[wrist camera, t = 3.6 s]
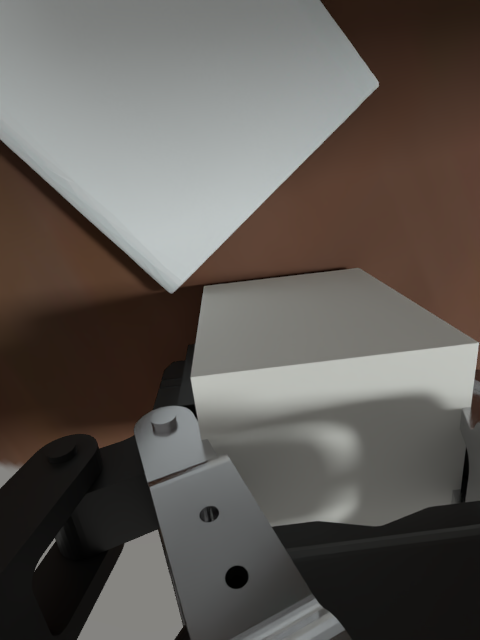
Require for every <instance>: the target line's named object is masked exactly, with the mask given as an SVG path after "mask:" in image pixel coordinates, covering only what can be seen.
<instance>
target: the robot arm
mask: <svg viewBox="0 0 480 640" xmlns="http://www.w3.org/2000/svg"><path fill="white" fill-rule="evenodd" d="M194 350H195V344H192V345H188V350H187V355H186V360H184V361H176V362H173V363H172V364H170V365H169V366H168V367H167V368H166V369H165V370H164V373H163V377H162V381H161V384H160V389H159V391H158V394H157V397H156V401H155V404H154V408H153V411H151V412H149V413H147V414H145V415H144V416H143V417H141V418H140V419H139V420H138V421H137V423H136V424H135V427H134V434H135V435H134V436H132V437H130V438H128V439H126V440H124V441H121V442H118V443H115V444H112V445H109V446H106V447H103V448H100V449H99V447H98V444H97V441H96V439H95V438H94V437H92V436H90V435H86V434H75V435H69V436H65V437H62V438H59V439H57V440H54V441H52V442H51V443H49V444H47V445H45V446H44V447H42V448H41V449H40V450H39V451H37V452H36V453H35V454H34V455H33V456H32V457H31V458H30V459H29V460H28V461H27V462H26V463H25V464H24V465H23V466H22V467H21V468H20V469H19V470H18V471H17V472H16V473H15V474H14V475H13V476H12V478H10V479H9V480H8V481H7V482H6V483H5V485H4V486H2V487H1V489H0V640H77V638H78V636H79V634H80V632H81V630H82V628H83V626H84V624H85V622H86V621H87V618H88V617H89V615H90V613H91V611H92V609H93V607H94V605H95V603H96V601H97V599H98V597H99V595H100V593H101V591H102V589H103V587H104V585H105V583H106V581H107V579H108V577H109V575H110V573H111V571H112V570H113V568H114V565H115V564H116V562H117V560H118V557H119V555H120V554H121V552H122V549H123V547H124V543H126V542H128V541H131V540H133V539H135V538H138V537H140V536H143V535H145V534H147V533H150V532H152V531H154V530H157V529H158V531H159V535H160V539H161V543H162V547H163V550H164V554H165V558H166V562H167V566H168V570H169V573H170V577H171V581H172V584H173V589H174V592H175V596H176V600H177V604H178V608H179V612H180V616H181V620H182V624H183V628H182V629H181V631H180V632H179V634H178V636H177V637H176V638H175V640H480V370H475V378H474V386H473V395H472V403H471V407H466V408H462V412H461V420H460V431H461V434H462V437H463V439H464V442H465V445H466V451H465V459H464V467H463V475H462V483H461V489H458V490H453V491H452V500H451V504H449V505H441V506H433V507H428V508H425V509H423V510H420V511H418V512H415V513H413V514H410V515H408V516H405V517H403V518H400V519H398V520H395V521H393V522H390V523H388V524H385V525H382V526H365V525H355V524H344V523H334V522H323V521H313V522H305V523H297V524H289V525H281V526H273V527H271V525H270V523H269V522H268V520H267V519H266V517H265V515H264V514H263V512H262V510H261V509H260V507H259V505H258V504H257V502H256V501H255V499H254V497H253V496H252V494H251V492H250V491H249V489H248V487H247V486H246V484H245V483H244V481H243V479H242V478H241V476H240V474H239V473H238V471H237V469H236V468H235V466H234V465H233V463H232V461H231V460H230V458H229V457H228V456H227V455H226V454H222V455H219V456H217V455H216V453H215V451H214V449H213V448H212V446H211V444H210V442H209V440H208V439H204V440H201V436H200V430H199V424H198V418H197V413H196V407H195V401H194V395H193V389H192V384H191V378H190V377H191V370H192V363H193V356H194ZM54 538H55V539H56V542H55V543H54V545H53V546H52V547H51V549H50V550H49V552H48V553H47V555H46V556H45V557H44V559H43V560H42V562H41V563H40V565H39V566H38V567H37V569H36V570H35V567H36V565H37V563H38V561H39V559H40V558H41V556H42V555H43V553H44V552H45V550H46V549H47V548H48V546H49V545H50V544H51V542H52V541H53V539H54ZM34 571H35V572H34Z"/></svg>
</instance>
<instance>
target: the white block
mask: <svg viewBox="0 0 480 640" xmlns="http://www.w3.org/2000/svg"><path fill="white" fill-rule="evenodd" d="M478 346H479V342H477V341H475V340H474V339H472V338H470V337H469V336H467V335H466V334H464V333H462V332H461V331H459V330H458V329H456V328H454V327H453V326H451V325H450V324H448V323H446V322H445V321H443V320H442V319H440V318H438V317H437V316H435V315H434V314H432V313H430V312H429V311H427V310H426V309H424V308H422V307H421V306H419V305H418V304H416V303H414V302H413V301H411V300H410V299H408V298H406V297H405V296H403V295H401V294H400V293H398V292H397V291H395V290H393V289H392V288H390V287H389V286H387V285H385V284H384V283H382V282H381V281H379V280H377V279H376V278H374V277H373V276H371V275H369V274H368V273H366V272H365V271H363V270H361V269H360V268H354V269H345V270H337V271H328V272H320V273H311V274H302V275H294V276H285V277H277V278H268V279H260V280H251V281H243V282H234V283H226V284H217V285H208V286H204V288H203V295H202V302H201V309H200V316H199V322H198V329H197V336H196V343H195V350H194V356H193V363H192V370H191V377H190V378H191V384H192V389H193V395H194V401H195V407H196V413H197V418H198V424H199V430H200V436H201V440H204V439H208V440H209V442H210V444H211V446H212V448H213V449H214V451H215V453H216V455H217V456H219V455H222V454H226V455H227V456H228V457H229V458H230V460H231V461H232V463H233V465H234V466H235V468H236V469H237V471H238V473H239V474H240V476H241V478H242V479H243V481H244V483H245V484H246V486H247V487H248V489H249V491H250V492H251V494H252V496H253V497H254V499H255V501H256V502H257V504H258V505H259V507H260V509H261V510H262V512H263V514H264V515H265V517H266V519H267V520H268V522H269V523H270V525H271V527H273V526H281V525H289V524H297V523H305V522H313V521H323V522H334V523H344V524H355V525H365V526H382V525H385V524H388V523H390V522H393V521H395V520H398V519H400V518H403V517H405V516H408V515H410V514H413V513H415V512H418V511H420V510H423V509H425V508H428V507H433V506H441V505H449V504H451V500H452V491H453V490H458V489H461V483H462V475H463V467H464V459H465V451H466V445H465V442H464V439H463V437H462V434H461V431H460V420H461V412H462V408H466V407H471V403H472V395H473V386H474V378H475V370H476V362H477V354H478Z"/></svg>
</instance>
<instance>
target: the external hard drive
mask: <svg viewBox="0 0 480 640" xmlns="http://www.w3.org/2000/svg"><path fill="white" fill-rule="evenodd" d="M378 86H379V82H378V80H377V79H376V77H375V76H374V75H373V73H372V72H371V71H370V69H369V68H368V66H367V65H366V63H365V62H364V61H363V59H362V58H361V57H360V55H359V54H358V52H357V51H356V50H355V48H354V47H353V45H352V44H351V42H350V41H349V40H348V38H347V37H346V36H345V34H344V33H343V31H342V30H341V29H340V27H339V26H338V25H337V23H336V22H335V21H334V19H333V18H332V17H331V15H330V14H329V12H328V11H327V10H326V8H325V7H324V5H323V4H322V3H321V1H320V0H0V140H1V141H2V142H3V143H5V144H6V145H7V146H8V147H9V148H10V149H11V150H12V151H13V152H14V153H16V154H17V155H18V156H19V157H20V158H21V159H22V160H23V161H24V162H26V163H27V164H28V165H29V166H30V167H31V168H32V169H33V170H34V171H35V172H37V173H38V174H39V175H40V176H41V177H42V178H43V179H44V180H45V181H46V182H47V183H49V184H50V185H51V186H52V187H53V188H54V189H55V190H56V191H57V192H58V193H59V194H61V195H62V196H63V197H64V198H65V199H66V200H67V201H68V202H69V203H70V204H71V205H73V206H74V207H75V208H76V209H77V210H78V211H79V212H80V213H81V214H82V215H84V216H85V217H86V218H87V219H88V220H89V221H90V222H91V223H92V224H94V225H95V226H96V227H97V228H98V229H99V230H100V231H101V232H102V233H104V234H105V235H106V236H107V237H108V238H109V239H110V240H111V241H113V242H114V243H115V244H116V245H117V246H118V247H119V248H121V249H122V250H123V251H124V252H125V253H126V254H127V255H128V256H129V257H130V258H131V259H132V260H134V261H135V262H136V263H137V264H138V265H139V266H140V267H141V268H142V269H143V270H144V271H146V272H147V273H148V274H149V275H150V276H151V277H152V278H153V279H154V280H156V281H157V282H158V283H159V284H160V285H161V286H162V287H163V288H164V289H166V290H167V291H168V292H169V293H171V294H172V293H173V292H175V291H176V290H177V289H178V288H179V287H180V286H181V285H182V284H183V283H184V282H185V281H186V280H187V279H188V278H189V277H190V276H191V275H192V274H193V273H194V272H195V271H196V270H197V269H198V268H199V267H200V266H201V265H202V264H203V263H204V262H205V261H206V260H207V259H208V258H209V257H210V256H211V255H212V254H213V253H214V252H215V251H216V250H217V249H218V248H219V247H220V246H221V245H222V244H223V243H224V242H225V241H226V240H227V238H228V237H229V236H230V235H231V234H232V233H233V232H234V231H235V230H236V229H237V228H238V227H239V226H240V225H241V224H242V223H243V222H244V221H245V220H246V219H247V218H248V217H249V216H250V215H251V214H252V213H253V212H254V211H255V210H256V209H257V208H258V207H259V206H260V205H261V204H262V203H263V202H264V201H265V200H266V199H267V198H268V197H269V196H270V195H271V194H272V193H273V192H274V191H275V190H276V189H277V188H278V187H279V186H280V185H281V184H282V183H283V182H284V181H285V180H286V179H287V178H288V177H289V176H290V175H291V174H292V173H293V172H294V171H295V170H296V169H297V168H298V167H299V166H300V165H301V164H302V163H303V162H304V161H305V160H306V159H307V158H308V157H309V156H310V155H311V154H312V153H313V152H314V151H315V150H316V149H317V148H318V147H319V146H320V145H321V144H322V143H323V142H324V141H325V140H326V139H327V138H328V137H329V136H330V135H331V134H332V133H333V132H334V131H335V130H336V129H337V128H338V127H339V126H340V125H341V124H342V123H343V122H344V121H345V120H346V119H347V118H348V117H349V116H350V115H351V114H352V113H353V112H354V111H355V110H356V109H357V108H358V107H359V106H360V105H361V103H362V102H363V101H364V100H365V99H366V98H367V97H368V96H369V95H370V94H372V92H373V91H374V90H375V89H377V88H378Z"/></svg>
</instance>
